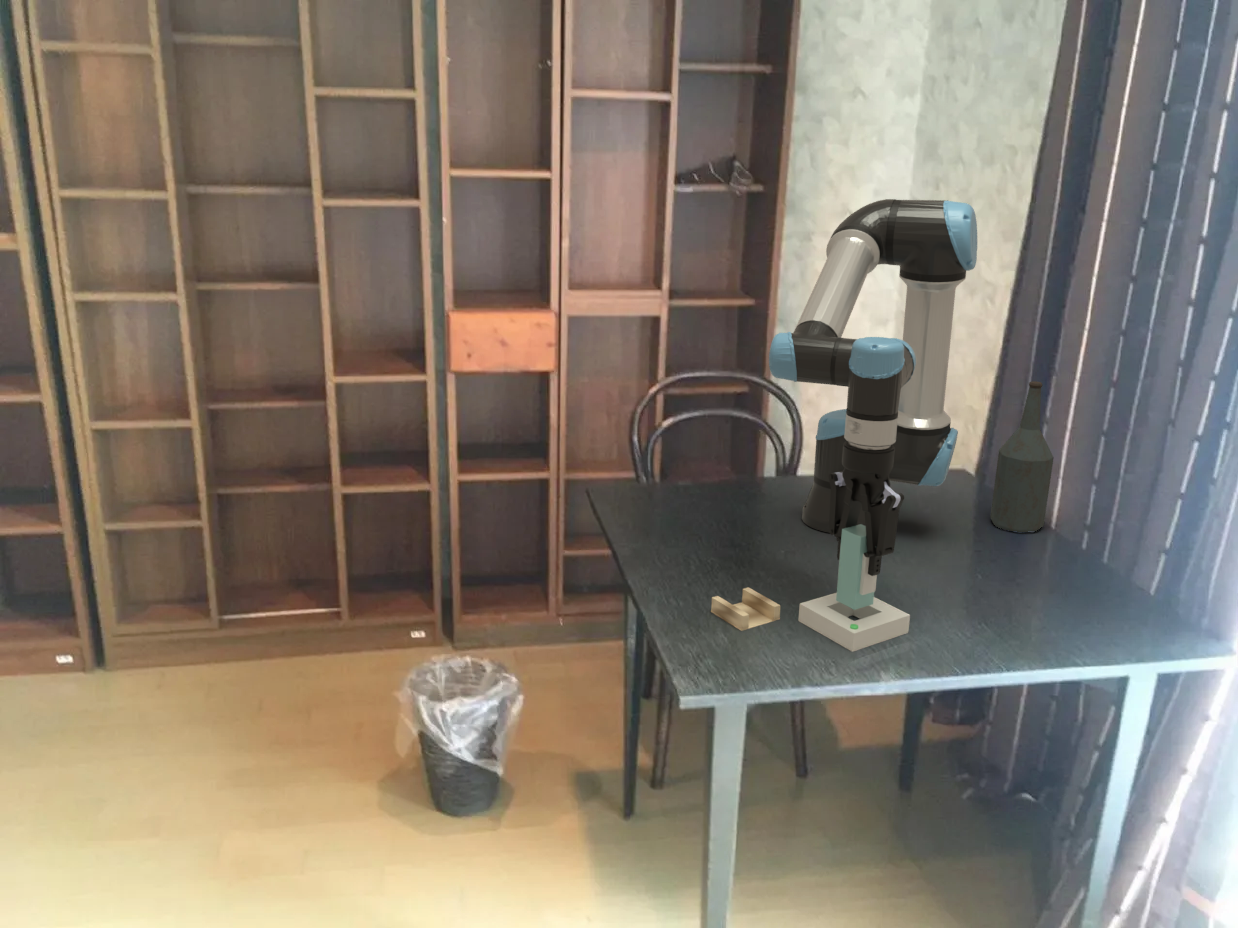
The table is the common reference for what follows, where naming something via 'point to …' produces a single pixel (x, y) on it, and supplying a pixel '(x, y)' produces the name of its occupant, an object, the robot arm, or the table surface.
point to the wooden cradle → (746, 610)
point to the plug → (852, 568)
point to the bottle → (1023, 472)
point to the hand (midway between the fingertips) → (856, 586)
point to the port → (853, 635)
